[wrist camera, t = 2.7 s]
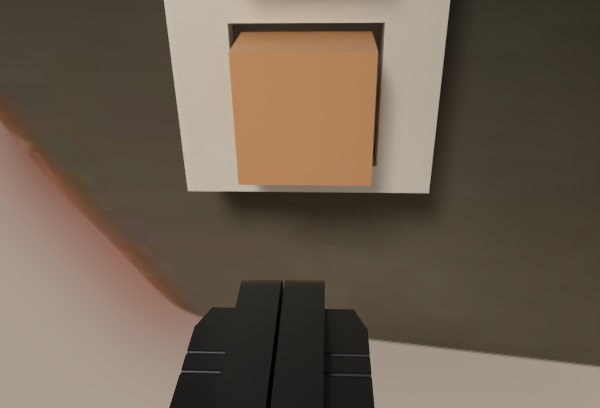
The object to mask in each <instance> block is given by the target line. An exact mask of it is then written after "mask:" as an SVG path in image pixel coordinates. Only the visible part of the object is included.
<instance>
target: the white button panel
mask: <svg viewBox="0 0 600 408" xmlns="http://www.w3.org/2000/svg"><path fill="white" fill-rule="evenodd" d="M164 5H165V13H166V21H167V29H168V37H169V45H170V53H171V61H172V68H173V76H174V84H175V92H176V100H177V108H178V116H179V124H180V132H181V140H182V148H183V156H184V164H185V172H186V180H187V188H188V191H239V192H349V193H429V188H430V179H431V170H432V161H433V152H434V143H435V134H436V125H437V116H438V107H439V98H440V89H441V80H442V71H443V62H444V53H445V43H446V34H447V25H448V16H449V7H450V0H164ZM314 31H372V33H373V36H374V39H375V43H376V46H377V49H378V66H377V85H376V103H375V122H374V141H373V159H372V178H371V186H329V185H239V184H238V171H237V158H236V144H235V131H234V118H233V104H232V91H231V78H230V65H229V51H230V49H231V47H232V46H233V44H234V43H235V41H236V39H237V38H238V36H239V35H240V33H241V32H314Z"/></svg>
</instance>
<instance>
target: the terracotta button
mask: <svg viewBox="0 0 600 408" xmlns="http://www.w3.org/2000/svg"><path fill="white" fill-rule="evenodd" d="M229 65H230V78H231V91H232V104H233V118H234V131H235V144H236V158H237V171H238V184H239V185H329V186H371V178H372V159H373V141H374V122H375V103H376V85H377V66H378V49H377V46H376V43H375V39H374V36H373V33H372V31H314V32H241V33H240V35H239V36H238V38H237V39H236V41H235V43H234V44H233V46H232V47H231V49H230V51H229Z"/></svg>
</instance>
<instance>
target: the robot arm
mask: <svg viewBox="0 0 600 408" xmlns="http://www.w3.org/2000/svg"><path fill="white" fill-rule="evenodd" d="M324 302H325V281H303V280H285V284H284V292H283V281H282V280H242V282H241V286H240V290H239V294H238V299H237V303H236V308H217V307H212V308H211V309H210V311H209V312H208V313H207V314H206V315H205V316H204V317H203V318H202V319H201V320H200V322H199V323H198V324H197V325H196V326H195V327H194V331H193V334H192V337H191V340H190V343H189V347H188V353H187V354H186V356H185V359H184V363H183V367H182V372H181V374H180V376H179V379H178V382H177V385H176V388H175V392H174V395H173V398H172V401H171V405H170V408H374V398H373V387H372V378H371V364H370V357H369V342H368V331H367V328H366V327H365V325H364V324H363V323H362V321H361V320H360V318H359V317H358V315H357V314H356V312H355V311H354V310H344V309H324Z"/></svg>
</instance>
